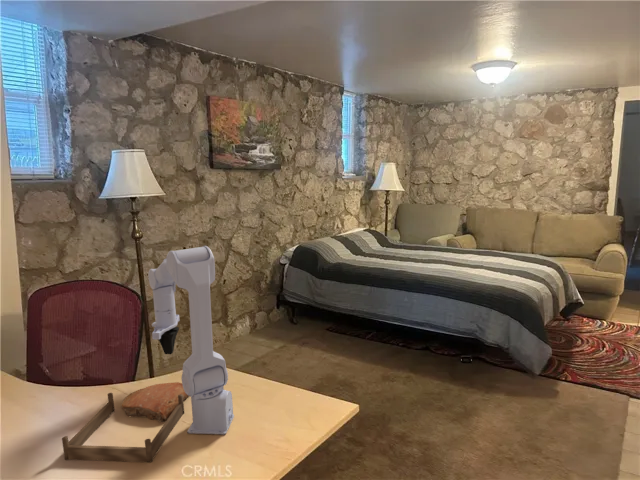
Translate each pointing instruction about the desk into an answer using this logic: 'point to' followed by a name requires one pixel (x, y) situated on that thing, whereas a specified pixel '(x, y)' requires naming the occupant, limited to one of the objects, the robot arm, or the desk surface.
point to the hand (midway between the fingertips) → (168, 353)
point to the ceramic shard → (154, 401)
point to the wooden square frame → (114, 453)
